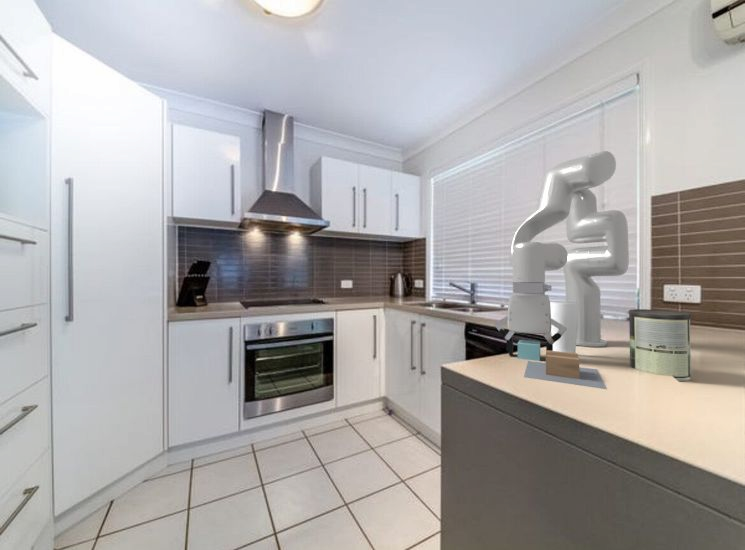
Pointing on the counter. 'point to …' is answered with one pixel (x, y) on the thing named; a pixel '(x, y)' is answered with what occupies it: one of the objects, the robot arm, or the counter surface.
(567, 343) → the white cup
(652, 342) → the coffee can
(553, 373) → the walnut base
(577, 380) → the plate
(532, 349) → the teal block
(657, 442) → the counter surface
